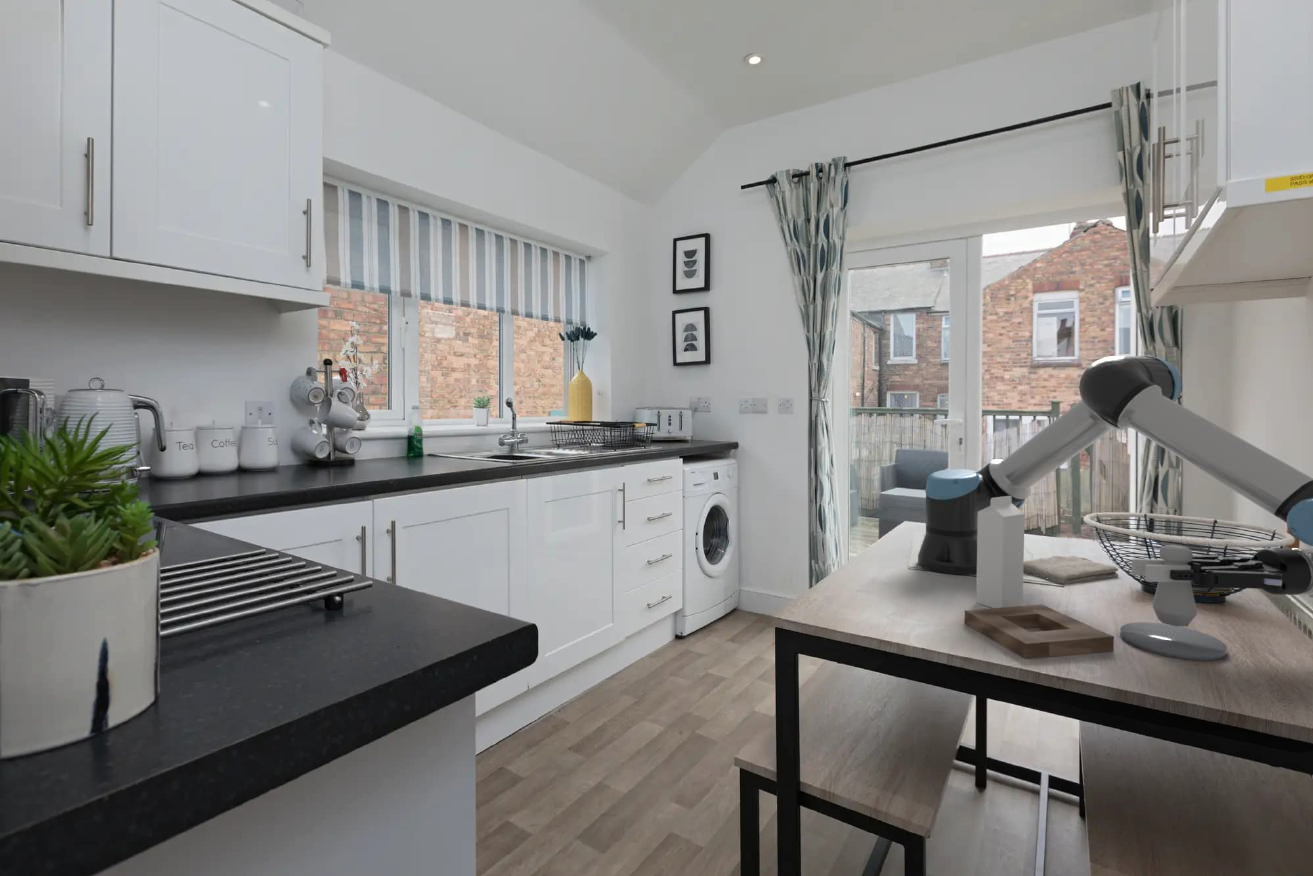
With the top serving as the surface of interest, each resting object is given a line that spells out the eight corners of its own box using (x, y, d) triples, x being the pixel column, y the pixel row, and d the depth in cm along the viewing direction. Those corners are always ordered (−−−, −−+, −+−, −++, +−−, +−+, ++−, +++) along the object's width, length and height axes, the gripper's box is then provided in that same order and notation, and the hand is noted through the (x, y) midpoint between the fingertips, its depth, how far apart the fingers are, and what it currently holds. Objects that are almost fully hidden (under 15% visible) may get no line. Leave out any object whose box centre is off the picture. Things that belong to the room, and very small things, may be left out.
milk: (1022, 607, 127) (1026, 498, 125) (1001, 611, 125) (1005, 500, 123) (995, 598, 133) (998, 493, 131) (974, 602, 130) (977, 495, 128)
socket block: (964, 623, 119) (964, 610, 119) (1041, 617, 121) (1042, 604, 121) (1025, 658, 103) (1026, 643, 103) (1113, 651, 105) (1113, 636, 105)
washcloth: (1121, 577, 146) (1122, 564, 146) (1064, 587, 140) (1064, 573, 140) (1072, 564, 157) (1073, 552, 157) (1017, 573, 151) (1018, 560, 151)
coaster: (1100, 630, 114) (1100, 625, 114) (1168, 625, 116) (1168, 619, 116) (1174, 663, 100) (1174, 657, 100) (1250, 656, 102) (1250, 650, 102)
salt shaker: (1205, 629, 104) (1207, 550, 103) (1167, 628, 105) (1169, 550, 104) (1180, 616, 110) (1182, 542, 109) (1144, 616, 111) (1146, 542, 110)
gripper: (1338, 610, 97) (1171, 607, 100) (1253, 579, 113) (1111, 578, 116) (1341, 561, 96) (1172, 560, 99) (1255, 538, 112) (1112, 537, 115)
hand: (1139, 570), depth 107 cm, fingers closed on salt shaker, 3 cm apart
